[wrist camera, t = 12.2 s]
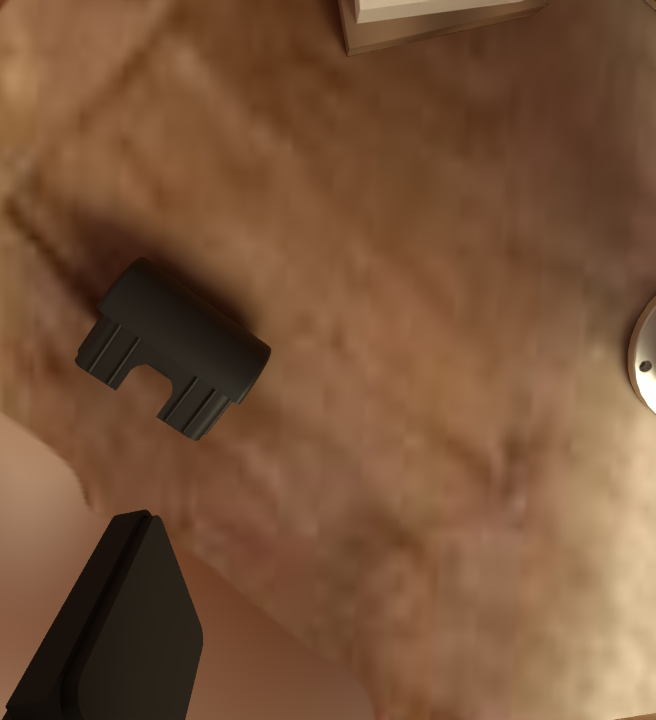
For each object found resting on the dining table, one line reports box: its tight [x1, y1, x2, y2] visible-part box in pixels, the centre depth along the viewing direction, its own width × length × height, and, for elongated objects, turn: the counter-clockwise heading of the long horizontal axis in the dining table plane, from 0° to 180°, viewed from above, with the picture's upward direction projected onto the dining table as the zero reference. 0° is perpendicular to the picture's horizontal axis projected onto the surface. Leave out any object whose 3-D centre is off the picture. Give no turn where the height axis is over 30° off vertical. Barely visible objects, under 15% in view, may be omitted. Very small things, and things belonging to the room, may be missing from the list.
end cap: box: [75, 257, 271, 441], centre depth 38 cm, size 10×7×7 cm
